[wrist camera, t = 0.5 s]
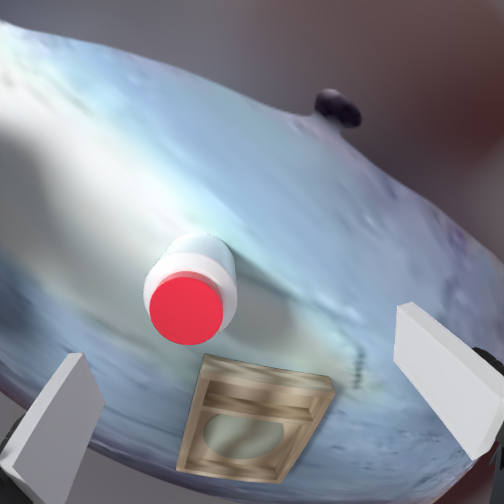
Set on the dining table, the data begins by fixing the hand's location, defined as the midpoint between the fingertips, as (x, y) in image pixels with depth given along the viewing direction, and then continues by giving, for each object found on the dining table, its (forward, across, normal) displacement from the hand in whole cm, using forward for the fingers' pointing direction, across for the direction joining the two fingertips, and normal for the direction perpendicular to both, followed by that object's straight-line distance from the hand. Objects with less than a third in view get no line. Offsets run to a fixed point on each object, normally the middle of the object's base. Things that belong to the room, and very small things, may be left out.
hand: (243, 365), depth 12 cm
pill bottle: (+22, -4, -2) cm, 22 cm away
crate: (+21, -2, -25) cm, 33 cm away
